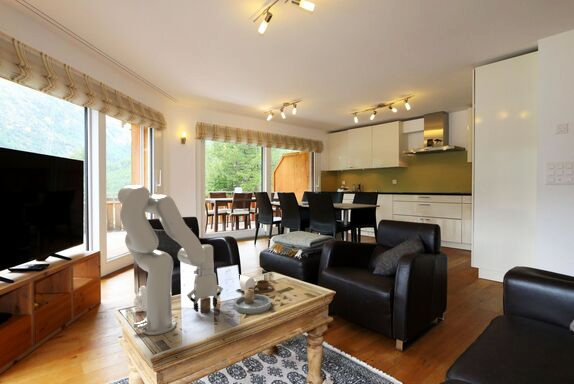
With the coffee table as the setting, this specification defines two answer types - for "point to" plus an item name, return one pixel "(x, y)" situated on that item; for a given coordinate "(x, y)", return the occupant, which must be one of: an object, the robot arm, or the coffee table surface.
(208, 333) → the coffee table surface
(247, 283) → the mug
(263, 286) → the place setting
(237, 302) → the dish
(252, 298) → the oak bead
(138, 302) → the koala figurine
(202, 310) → the walnut bead
